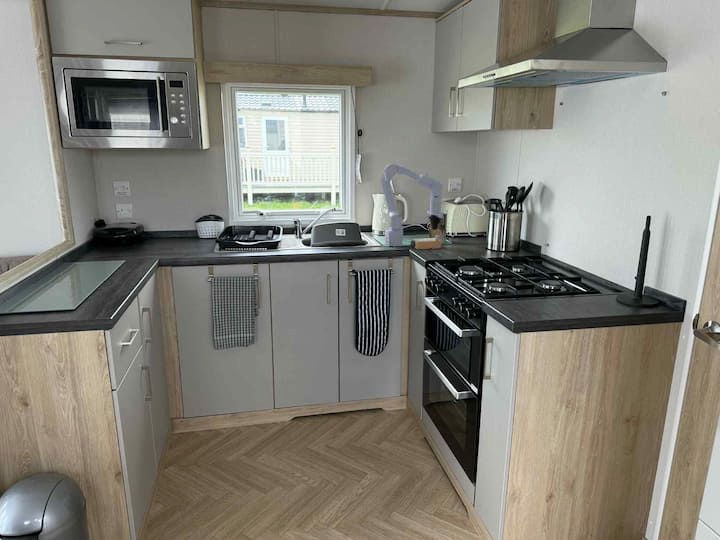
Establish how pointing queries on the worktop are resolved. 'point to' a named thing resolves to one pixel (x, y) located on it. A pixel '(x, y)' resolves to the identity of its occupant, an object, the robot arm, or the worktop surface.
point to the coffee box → (440, 229)
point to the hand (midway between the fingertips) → (434, 229)
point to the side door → (429, 244)
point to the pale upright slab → (414, 241)
